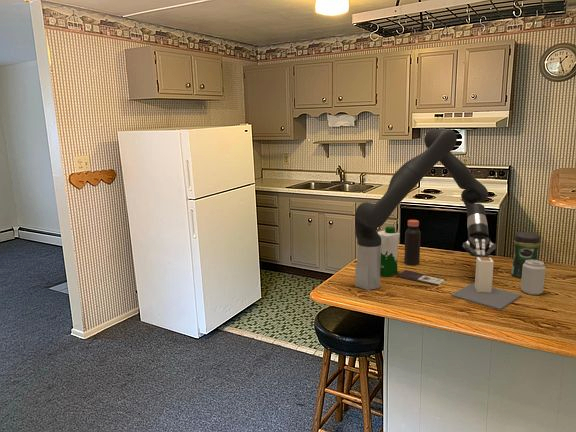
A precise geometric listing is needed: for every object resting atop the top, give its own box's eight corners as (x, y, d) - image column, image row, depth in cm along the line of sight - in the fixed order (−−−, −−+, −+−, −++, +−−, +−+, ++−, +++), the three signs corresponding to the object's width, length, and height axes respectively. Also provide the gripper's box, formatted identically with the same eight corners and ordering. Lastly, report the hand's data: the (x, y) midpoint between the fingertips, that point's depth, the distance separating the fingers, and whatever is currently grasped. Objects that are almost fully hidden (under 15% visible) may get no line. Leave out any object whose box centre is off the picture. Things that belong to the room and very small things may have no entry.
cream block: (491, 292, 164) (493, 260, 161) (476, 291, 165) (479, 260, 162) (488, 287, 168) (490, 257, 166) (474, 286, 170) (476, 256, 167)
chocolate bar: (405, 270, 191) (446, 278, 179) (405, 272, 191) (446, 280, 180) (395, 275, 184) (437, 285, 173) (395, 277, 184) (437, 287, 173)
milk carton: (400, 273, 188) (402, 228, 184) (386, 278, 183) (388, 231, 179) (384, 268, 195) (385, 225, 191) (370, 273, 189) (371, 228, 185)
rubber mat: (500, 310, 149) (500, 308, 149) (450, 296, 163) (450, 294, 162) (521, 296, 161) (521, 294, 161) (473, 284, 174) (473, 282, 174)
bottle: (401, 262, 203) (402, 220, 199) (412, 260, 206) (413, 218, 202) (411, 266, 197) (413, 223, 193) (422, 264, 200) (424, 221, 196)
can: (531, 296, 160) (534, 265, 158) (515, 289, 168) (518, 259, 165) (547, 294, 162) (551, 263, 160) (531, 287, 169) (534, 257, 167)
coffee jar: (537, 274, 184) (541, 231, 180) (537, 280, 177) (541, 235, 173) (511, 271, 188) (515, 229, 185) (510, 277, 181) (514, 233, 178)
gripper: (461, 221, 177) (464, 259, 168) (497, 222, 174) (502, 261, 165) (459, 231, 184) (461, 268, 174) (493, 232, 181) (497, 270, 171)
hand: (481, 265), depth 170 cm, fingers closed
